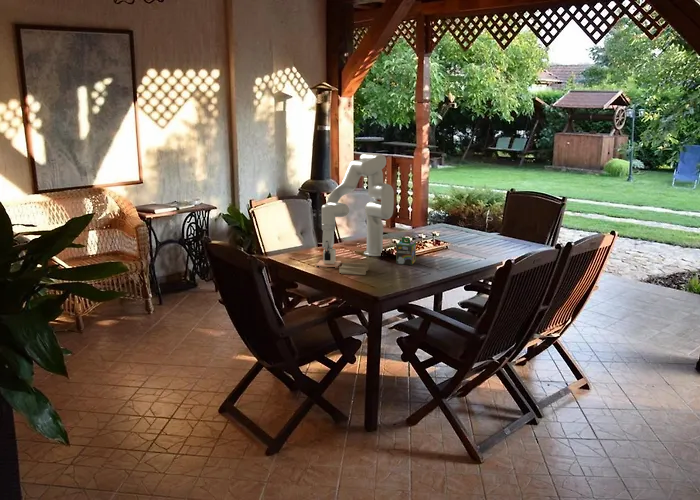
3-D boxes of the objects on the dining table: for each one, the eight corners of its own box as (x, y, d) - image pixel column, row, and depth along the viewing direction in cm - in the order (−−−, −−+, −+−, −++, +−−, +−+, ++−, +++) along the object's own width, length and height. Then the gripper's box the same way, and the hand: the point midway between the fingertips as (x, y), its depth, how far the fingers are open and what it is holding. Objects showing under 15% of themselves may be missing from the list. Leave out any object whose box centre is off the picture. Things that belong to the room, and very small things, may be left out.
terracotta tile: (320, 261, 368) (320, 259, 368) (341, 262, 367) (341, 260, 366) (315, 267, 357) (315, 265, 357) (337, 267, 355) (337, 266, 355)
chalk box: (415, 261, 369) (416, 236, 366) (411, 265, 361) (412, 239, 357) (400, 260, 372) (400, 234, 369) (395, 264, 364) (396, 238, 360)
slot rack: (342, 268, 353) (342, 262, 352) (367, 270, 351) (368, 263, 350) (339, 273, 344) (339, 267, 343) (365, 274, 342) (365, 268, 341)
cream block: (324, 260, 365) (325, 248, 363) (335, 261, 364) (335, 249, 362) (323, 263, 359) (323, 251, 357) (334, 263, 358) (334, 251, 357)
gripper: (324, 223, 366) (325, 254, 370) (318, 229, 349) (319, 262, 353) (338, 224, 365) (338, 255, 369) (332, 230, 348) (332, 262, 352)
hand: (328, 258), depth 361 cm, fingers open, 6 cm apart
